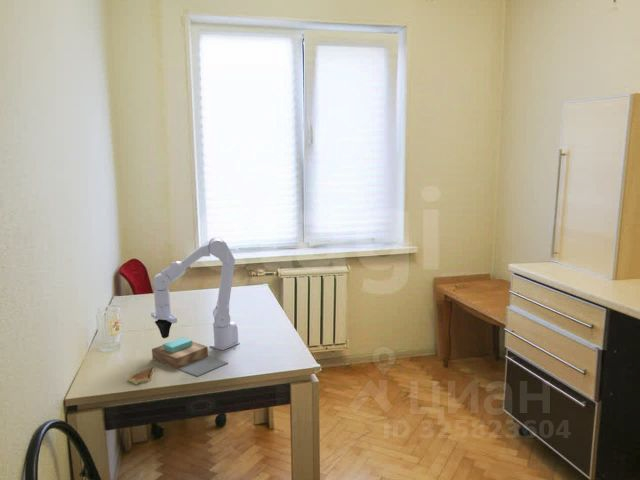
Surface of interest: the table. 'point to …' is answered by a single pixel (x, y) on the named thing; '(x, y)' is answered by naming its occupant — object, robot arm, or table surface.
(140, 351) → the table surface
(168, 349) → the aqua rectangular block
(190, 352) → the brown wooden flat block
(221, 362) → the grey flat slab
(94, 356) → the table surface
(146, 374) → the shard
